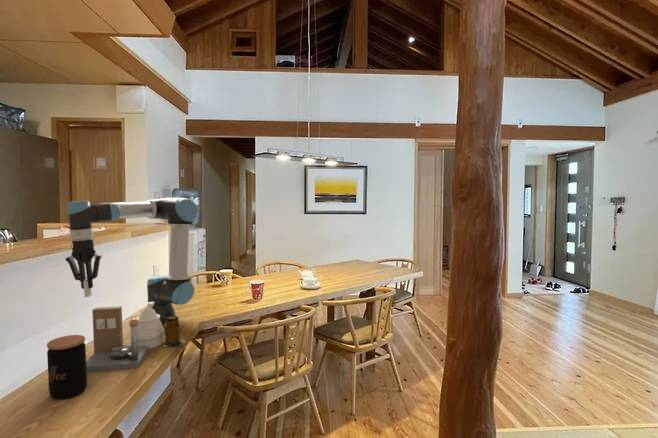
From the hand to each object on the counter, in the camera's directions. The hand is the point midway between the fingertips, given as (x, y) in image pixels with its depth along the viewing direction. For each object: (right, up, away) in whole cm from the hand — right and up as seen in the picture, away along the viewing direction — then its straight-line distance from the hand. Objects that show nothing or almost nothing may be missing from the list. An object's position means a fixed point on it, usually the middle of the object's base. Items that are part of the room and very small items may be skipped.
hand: (88, 295), depth 158 cm
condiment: (+30, -25, +15) cm, 41 cm away
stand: (+13, -26, -3) cm, 29 cm away
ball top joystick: (+18, -23, -4) cm, 30 cm away
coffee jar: (+10, -27, -27) cm, 40 cm away
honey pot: (+18, -24, +15) cm, 34 cm away
